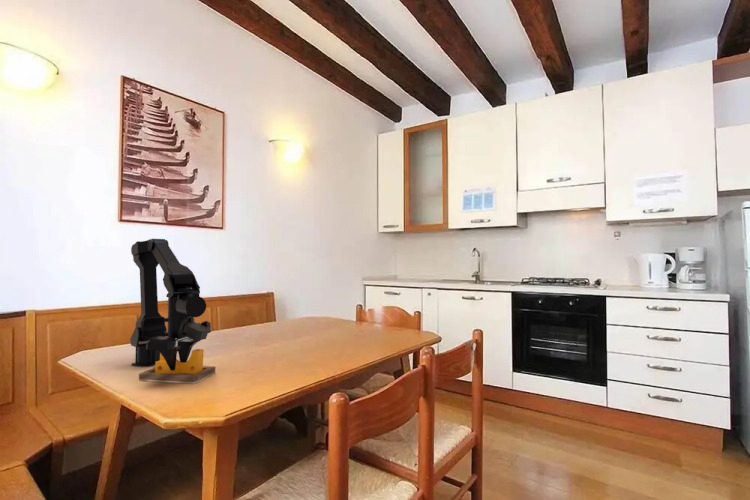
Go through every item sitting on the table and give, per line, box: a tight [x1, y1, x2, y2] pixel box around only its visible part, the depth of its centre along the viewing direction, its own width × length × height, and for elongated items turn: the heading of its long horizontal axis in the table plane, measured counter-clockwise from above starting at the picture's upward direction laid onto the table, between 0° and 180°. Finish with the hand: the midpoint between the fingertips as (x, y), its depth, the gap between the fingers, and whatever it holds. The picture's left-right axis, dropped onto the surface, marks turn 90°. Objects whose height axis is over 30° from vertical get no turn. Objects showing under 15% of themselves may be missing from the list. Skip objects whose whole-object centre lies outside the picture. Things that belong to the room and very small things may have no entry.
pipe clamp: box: [154, 348, 204, 374], centre depth 112 cm, size 12×4×6 cm, turn 81°
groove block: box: [138, 365, 216, 385], centre depth 112 cm, size 17×10×2 cm, turn 81°
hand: (178, 368), depth 112 cm, fingers closed on pipe clamp, 4 cm apart
